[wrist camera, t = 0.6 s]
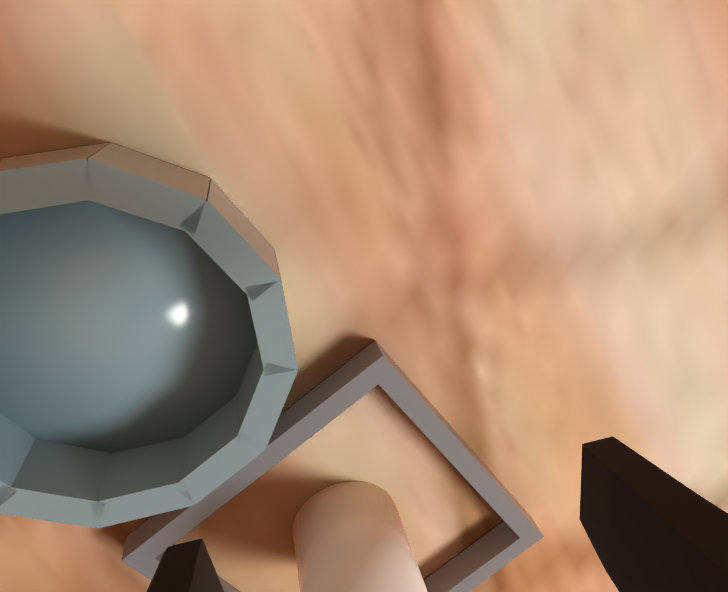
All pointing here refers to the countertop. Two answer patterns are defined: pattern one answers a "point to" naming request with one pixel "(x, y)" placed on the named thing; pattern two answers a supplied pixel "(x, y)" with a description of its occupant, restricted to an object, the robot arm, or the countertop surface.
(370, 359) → the empty gray rectangular frame
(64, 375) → the bowl
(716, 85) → the countertop surface
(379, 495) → the pestle
